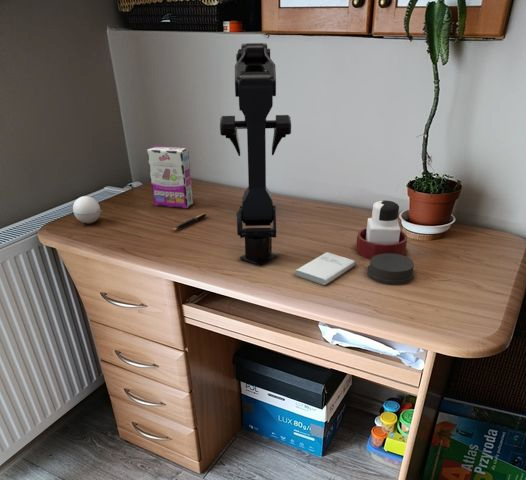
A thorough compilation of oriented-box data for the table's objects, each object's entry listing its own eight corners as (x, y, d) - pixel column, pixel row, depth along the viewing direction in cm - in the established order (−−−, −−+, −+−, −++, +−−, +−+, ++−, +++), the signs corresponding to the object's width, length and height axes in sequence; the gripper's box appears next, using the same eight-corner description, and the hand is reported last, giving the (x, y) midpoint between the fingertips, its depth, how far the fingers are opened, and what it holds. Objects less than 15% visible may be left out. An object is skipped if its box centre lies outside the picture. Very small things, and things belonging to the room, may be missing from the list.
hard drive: (295, 275, 117) (325, 257, 124) (325, 286, 112) (354, 266, 120) (295, 269, 116) (325, 251, 123) (325, 279, 111) (355, 260, 119)
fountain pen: (174, 233, 138) (173, 227, 137) (170, 232, 138) (170, 226, 138) (208, 217, 148) (207, 211, 147) (204, 216, 148) (204, 211, 147)
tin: (392, 265, 121) (394, 249, 118) (347, 253, 126) (349, 237, 124) (412, 248, 128) (415, 233, 126) (369, 237, 134) (371, 222, 132)
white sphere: (70, 225, 143) (64, 199, 139) (87, 216, 149) (82, 191, 145) (99, 230, 140) (93, 204, 136) (115, 221, 146) (111, 195, 141)
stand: (402, 289, 111) (404, 276, 109) (358, 276, 116) (360, 264, 114) (421, 271, 118) (423, 259, 116) (379, 260, 123) (380, 248, 121)
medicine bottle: (393, 245, 130) (400, 198, 123) (396, 257, 124) (403, 208, 117) (364, 244, 131) (370, 197, 124) (366, 256, 125) (372, 207, 118)
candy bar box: (194, 203, 157) (189, 147, 148) (187, 209, 153) (182, 151, 144) (161, 200, 160) (154, 145, 150) (153, 205, 156) (146, 149, 146)
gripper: (289, 83, 137) (287, 139, 149) (219, 84, 136) (223, 140, 148) (292, 103, 129) (290, 160, 141) (218, 104, 129) (222, 161, 141)
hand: (256, 155), depth 143 cm, fingers open, 9 cm apart
